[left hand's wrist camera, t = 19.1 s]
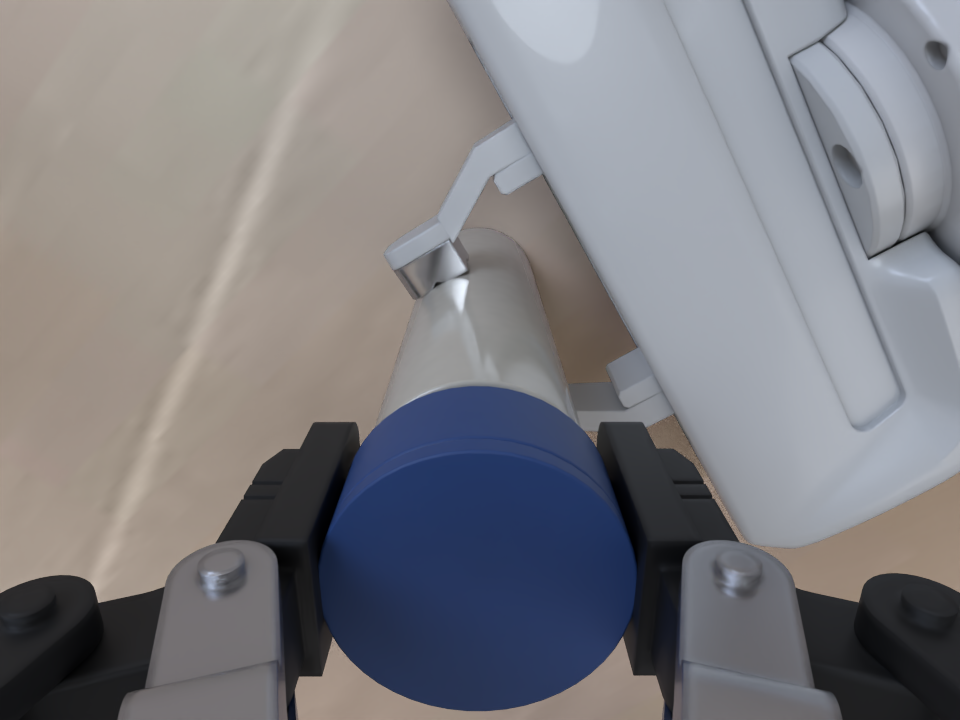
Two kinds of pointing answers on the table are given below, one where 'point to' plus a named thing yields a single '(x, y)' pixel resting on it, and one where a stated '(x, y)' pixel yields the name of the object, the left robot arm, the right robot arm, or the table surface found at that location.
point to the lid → (477, 553)
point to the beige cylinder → (481, 332)
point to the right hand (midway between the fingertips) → (451, 352)
